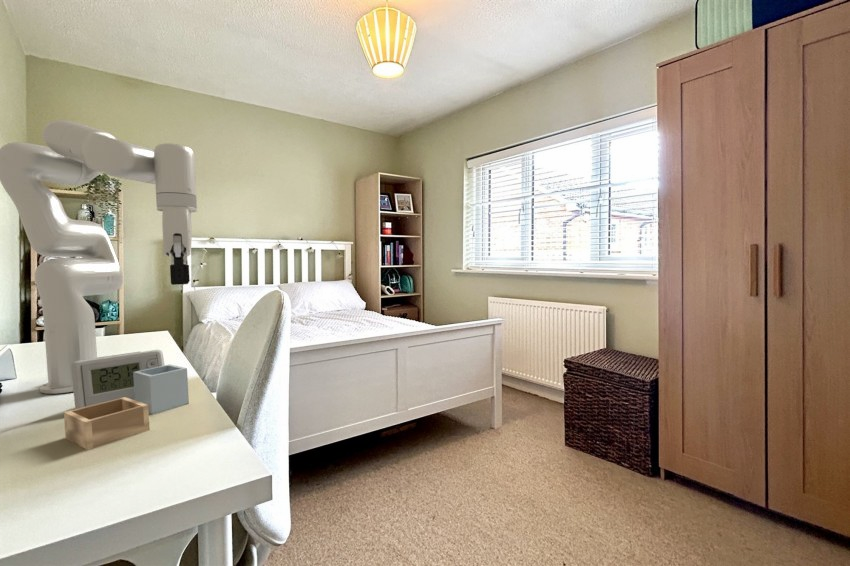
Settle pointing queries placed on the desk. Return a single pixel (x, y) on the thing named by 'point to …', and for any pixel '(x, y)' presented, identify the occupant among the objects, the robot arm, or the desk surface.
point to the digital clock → (110, 376)
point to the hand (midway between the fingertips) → (180, 283)
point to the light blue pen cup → (161, 387)
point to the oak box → (106, 422)
